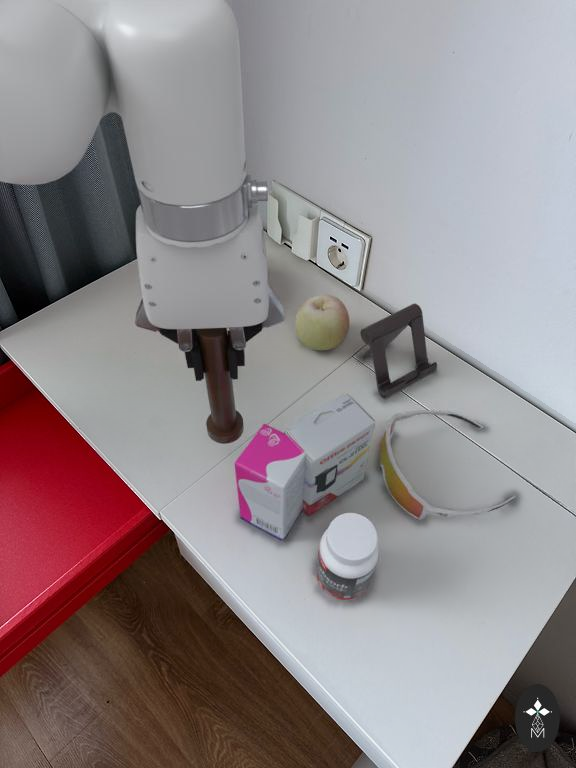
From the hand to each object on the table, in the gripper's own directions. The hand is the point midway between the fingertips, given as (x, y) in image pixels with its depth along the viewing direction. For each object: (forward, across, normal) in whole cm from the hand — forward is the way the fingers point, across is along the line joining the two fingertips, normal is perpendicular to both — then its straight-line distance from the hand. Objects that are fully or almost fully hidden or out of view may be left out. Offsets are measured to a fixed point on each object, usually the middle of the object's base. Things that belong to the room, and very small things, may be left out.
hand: (217, 367), depth 55 cm
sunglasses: (+18, -25, +2) cm, 31 cm away
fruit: (+18, -13, -20) cm, 30 cm away
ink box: (+18, -11, +3) cm, 21 cm away
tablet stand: (+18, -22, -14) cm, 32 cm away
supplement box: (+18, -5, +6) cm, 20 cm away
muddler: (+10, 0, 0) cm, 10 cm away
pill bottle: (+18, -12, +14) cm, 26 cm away
